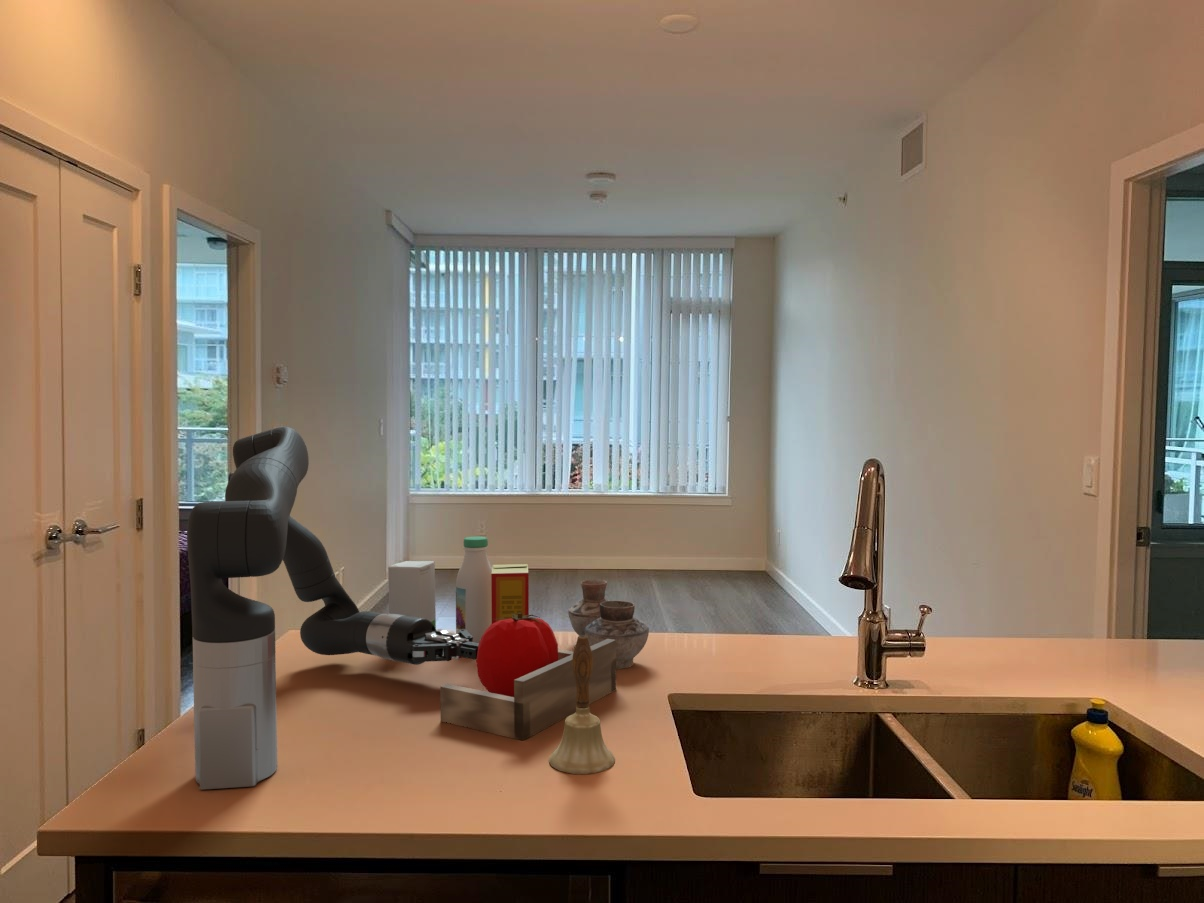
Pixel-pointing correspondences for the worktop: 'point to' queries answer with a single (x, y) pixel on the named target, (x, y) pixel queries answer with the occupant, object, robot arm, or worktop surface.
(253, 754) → the robot arm
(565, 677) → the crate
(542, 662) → the tomato
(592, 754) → the hand bell
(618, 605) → the pottery
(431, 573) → the skincare box
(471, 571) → the milk bottle
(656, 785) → the worktop surface
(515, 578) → the baking soda box
